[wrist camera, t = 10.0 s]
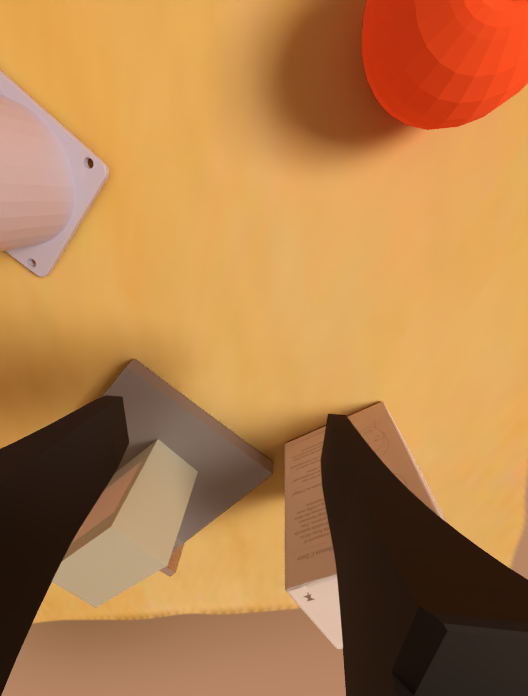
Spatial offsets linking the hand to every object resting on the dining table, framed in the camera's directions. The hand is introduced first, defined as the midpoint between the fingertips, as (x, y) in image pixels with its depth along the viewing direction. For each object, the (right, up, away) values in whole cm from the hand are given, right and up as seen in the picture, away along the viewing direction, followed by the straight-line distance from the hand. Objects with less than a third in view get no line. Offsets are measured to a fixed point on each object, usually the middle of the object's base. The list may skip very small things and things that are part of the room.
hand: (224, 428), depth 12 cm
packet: (-8, -7, +14) cm, 17 cm away
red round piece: (+9, +16, +4) cm, 19 cm away
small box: (+8, -5, +13) cm, 16 cm away
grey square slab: (-7, -6, +15) cm, 17 cm away
